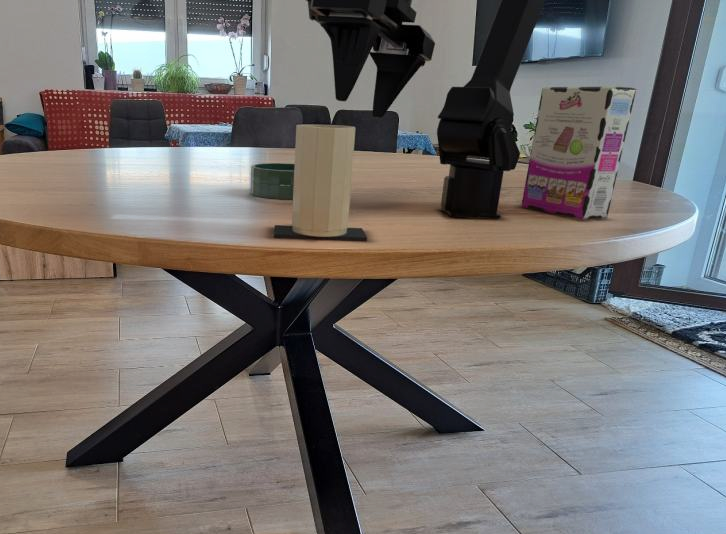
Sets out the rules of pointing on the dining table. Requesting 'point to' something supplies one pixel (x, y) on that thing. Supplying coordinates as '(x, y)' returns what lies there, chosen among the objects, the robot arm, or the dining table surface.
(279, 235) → the mat
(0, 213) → the dining table surface
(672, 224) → the dining table surface
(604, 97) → the candy bar box
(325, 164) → the cup
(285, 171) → the bowl
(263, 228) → the dining table surface
